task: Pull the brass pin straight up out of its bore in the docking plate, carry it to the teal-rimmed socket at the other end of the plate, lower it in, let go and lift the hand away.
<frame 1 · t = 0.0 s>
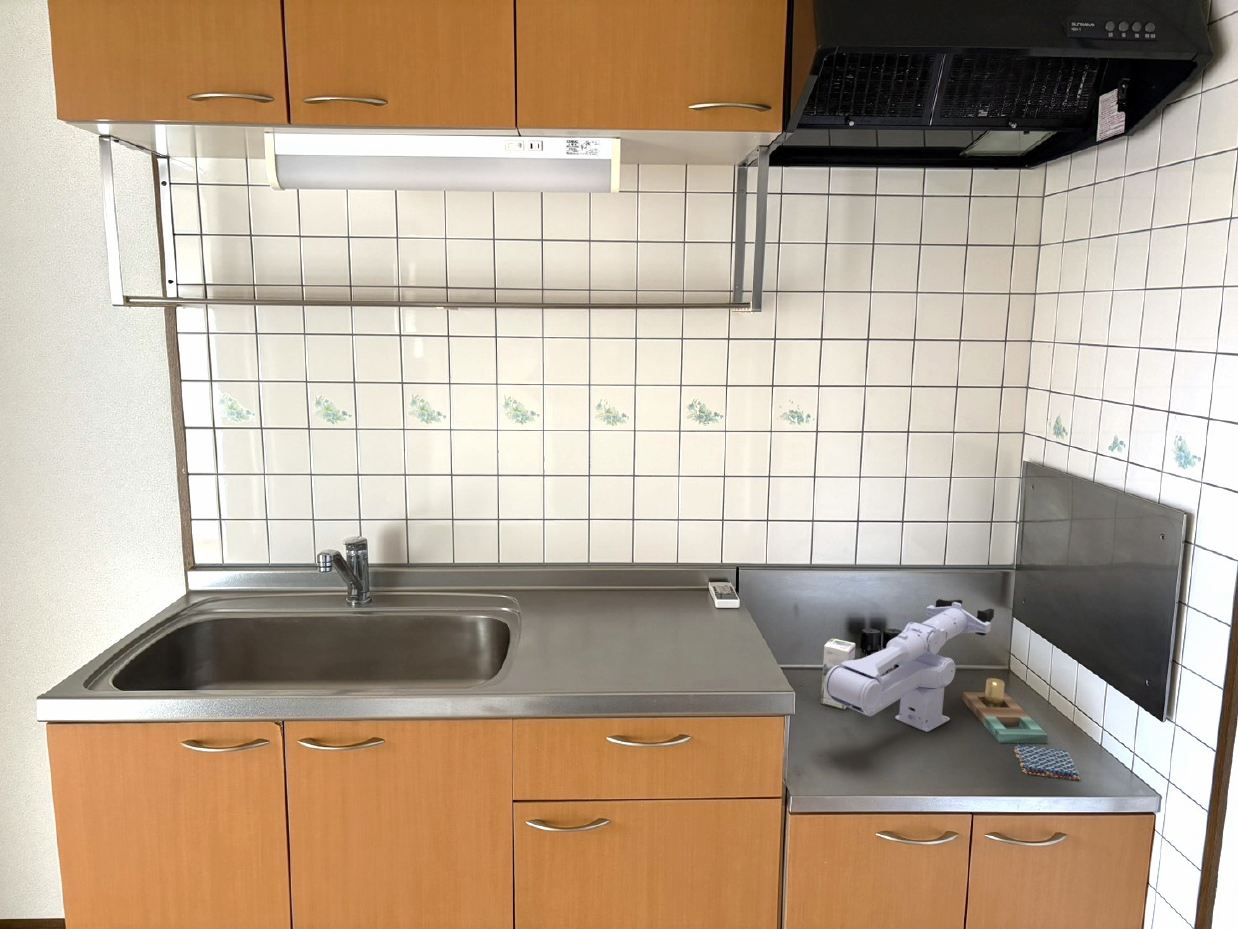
hand: (976, 608, 197), 22 cm above the table, tool horizontal, fingers open, 7 cm apart
syrup box: (836, 703, 196), on the table
woven mat: (1045, 767, 171), on the table
brass pin: (992, 710, 194), resting in docking plate
docking plate: (1002, 720, 189), on the table
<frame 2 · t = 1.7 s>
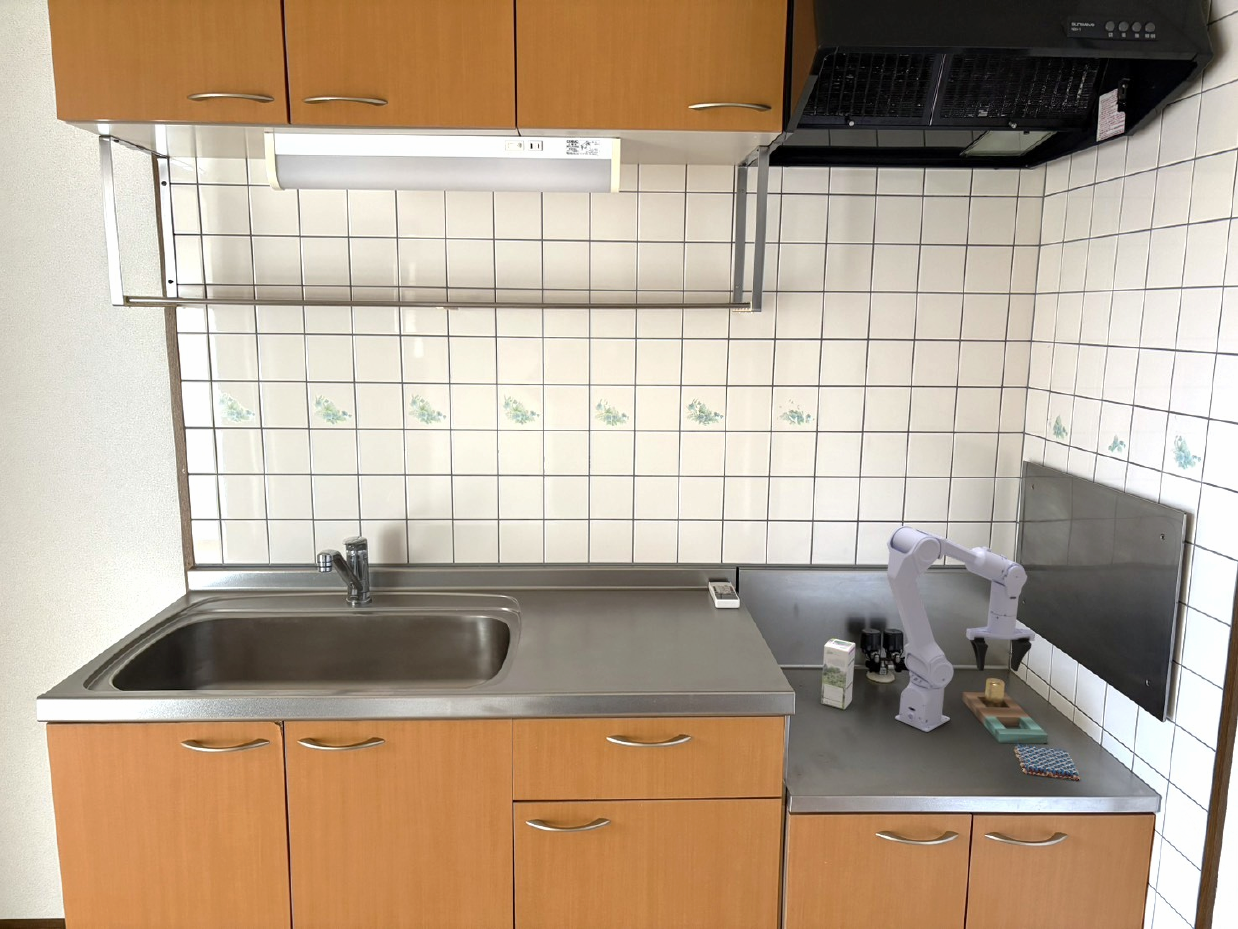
hand: (997, 669, 192), 10 cm above the table, tool pointing down, fingers open, 7 cm apart
nothing on the table moved.
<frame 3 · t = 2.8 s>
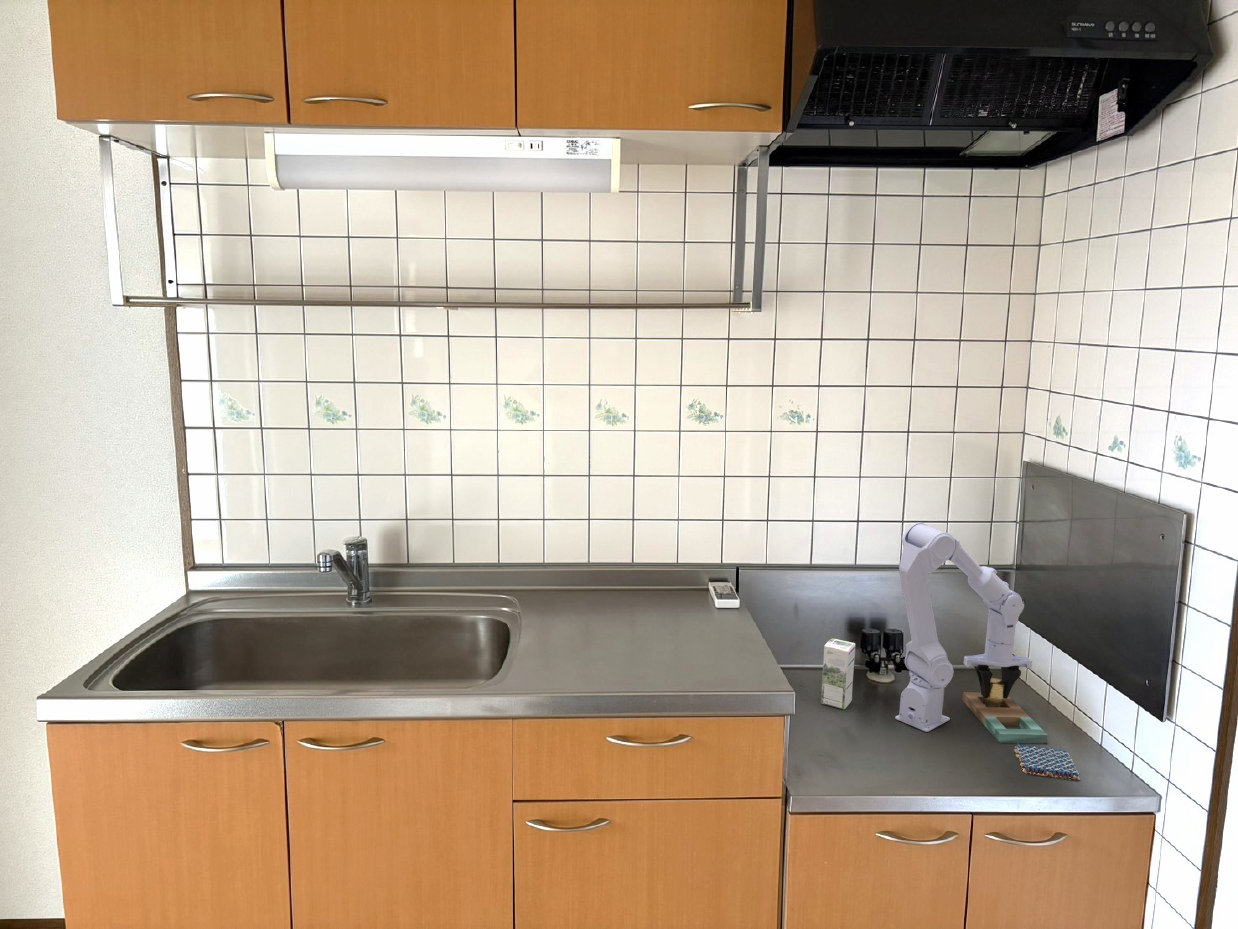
hand: (994, 696, 193), 3 cm above the table, tool pointing down, fingers closed on brass pin, 4 cm apart
brass pin: (992, 710, 194), resting in docking plate, touching gripper
everything else where it was.
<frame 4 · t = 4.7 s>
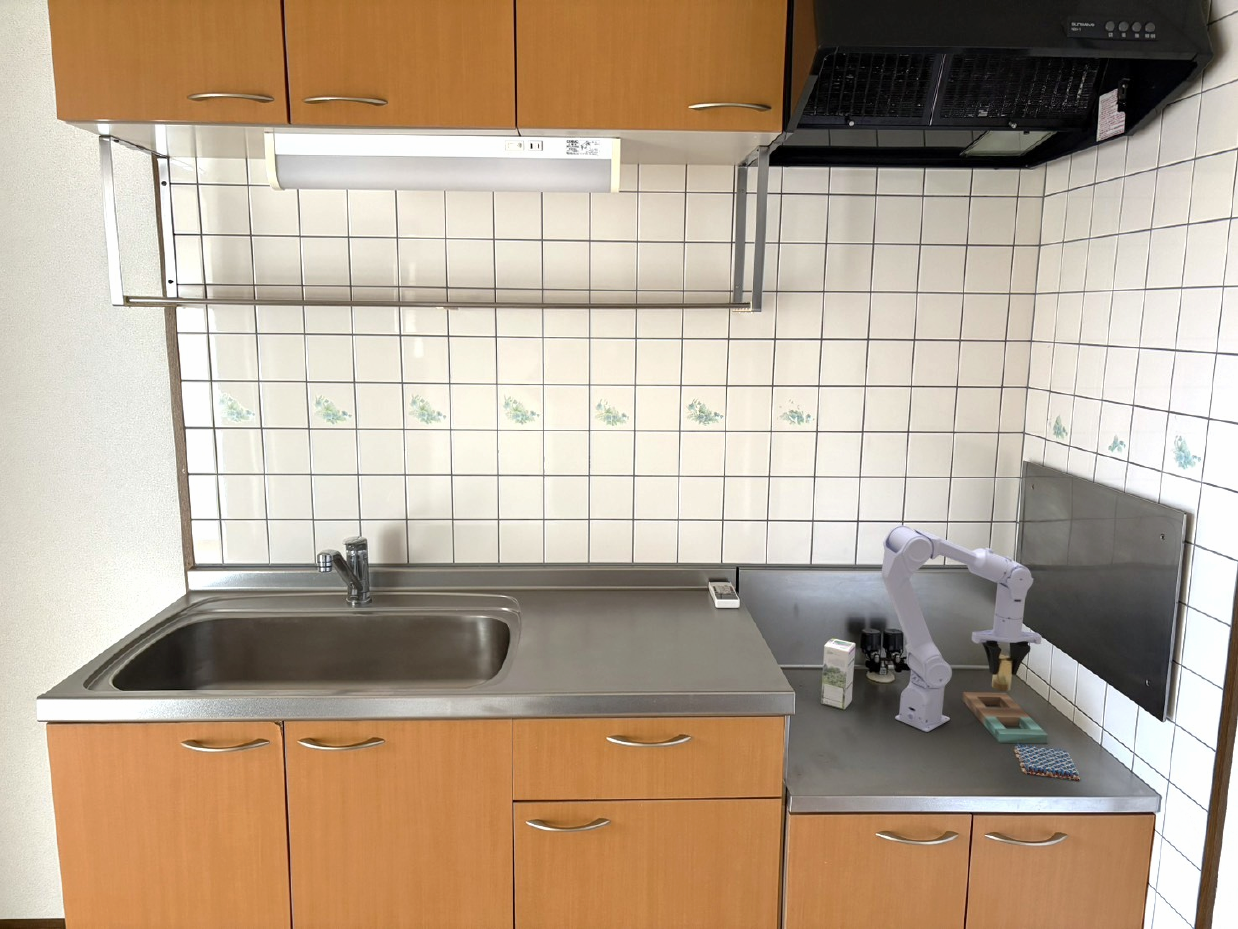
hand: (1002, 673, 189), 10 cm above the table, tool pointing down, fingers closed on brass pin, 4 cm apart
brass pin: (1000, 687, 190), point 7 cm above the table, touching gripper
everything else where it was.
when the fingers open (5 cm above the table, at t = 6.8 s): brass pin drops 1 cm, resting in docking plate.
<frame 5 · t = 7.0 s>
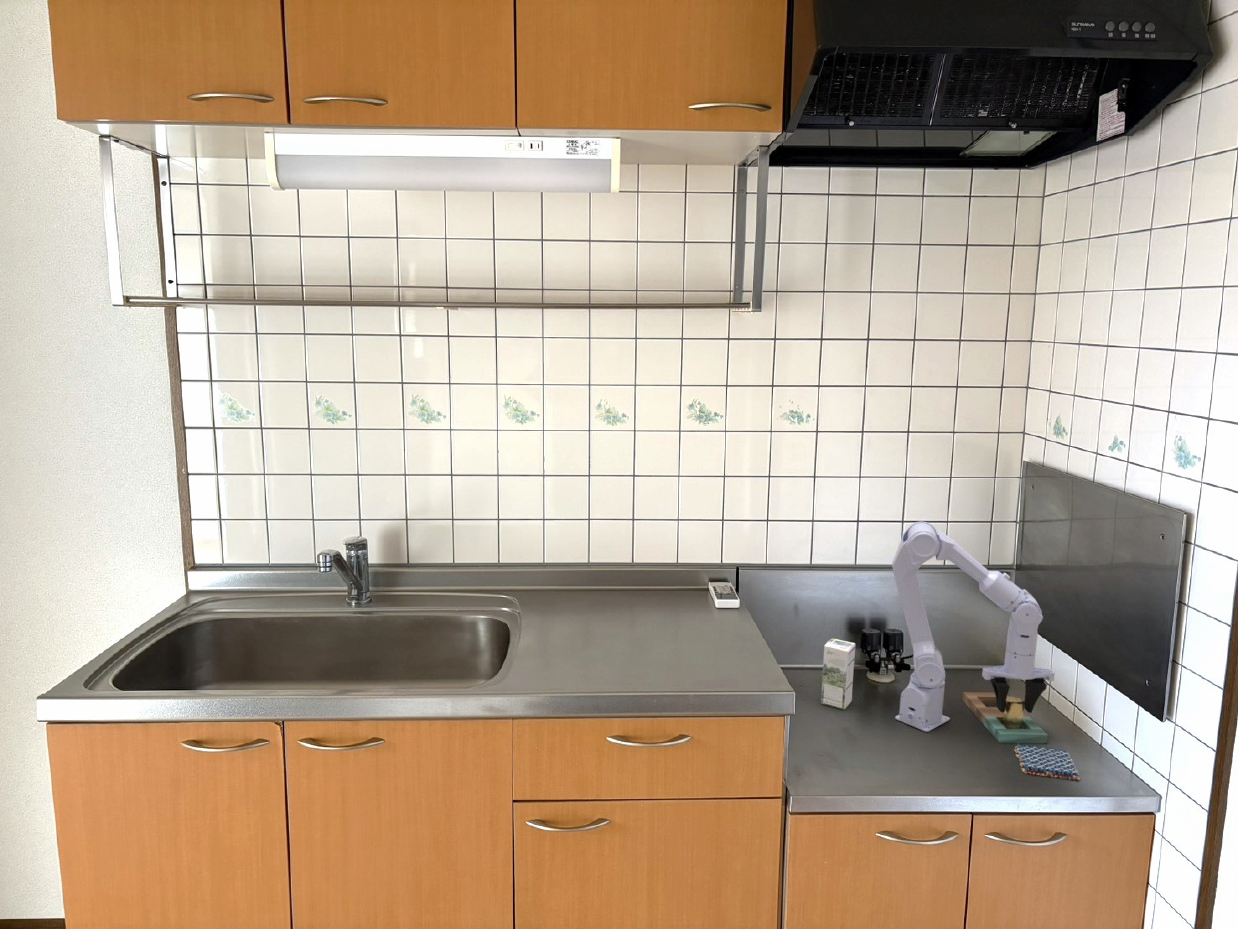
hand: (1014, 710, 183), 5 cm above the table, tool pointing down, fingers open, 5 cm apart
brass pin: (1011, 730, 184), resting in docking plate
everything else where it was.
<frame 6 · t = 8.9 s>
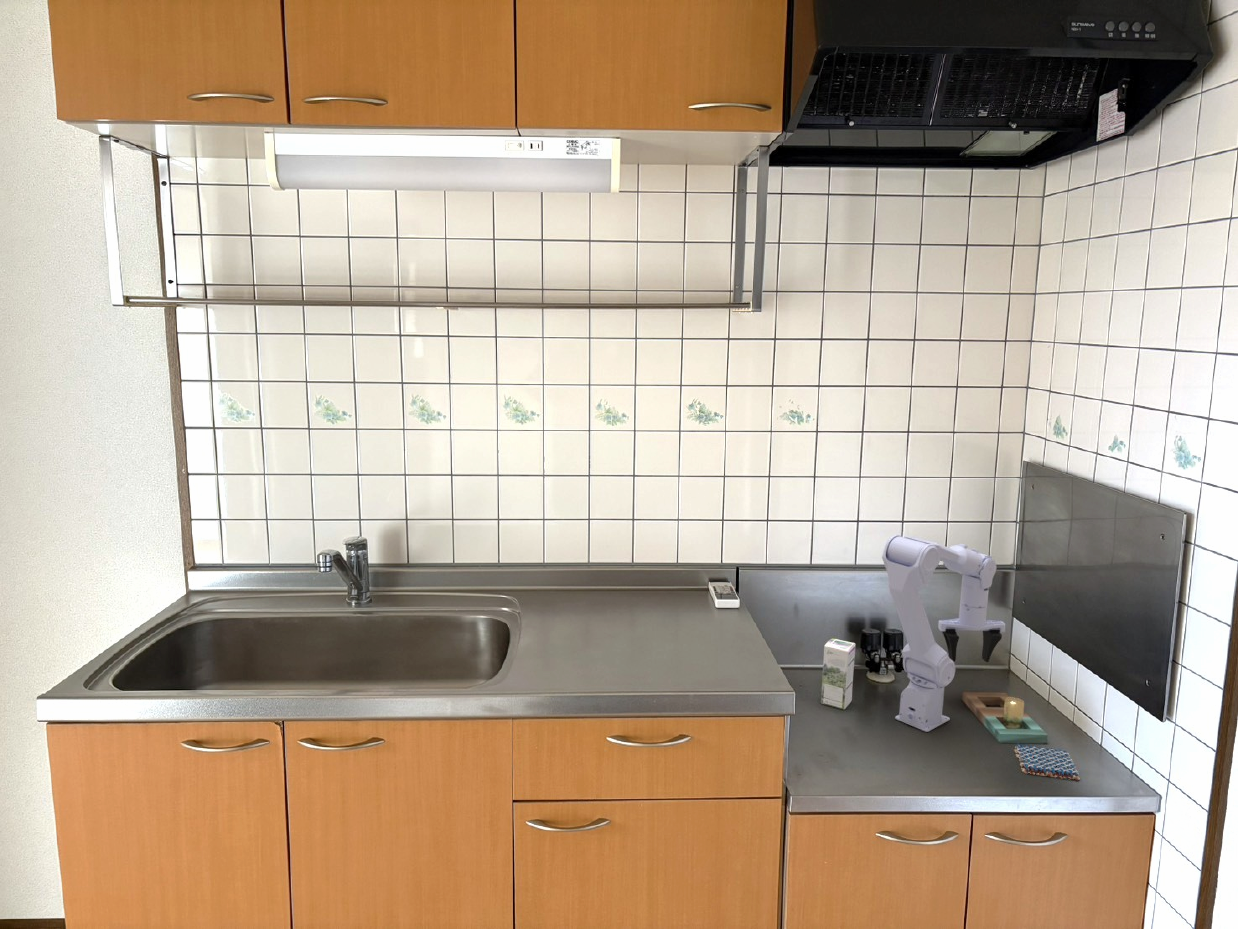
hand: (968, 660, 196), 10 cm above the table, tool pointing down, fingers open, 7 cm apart
nothing on the table moved.
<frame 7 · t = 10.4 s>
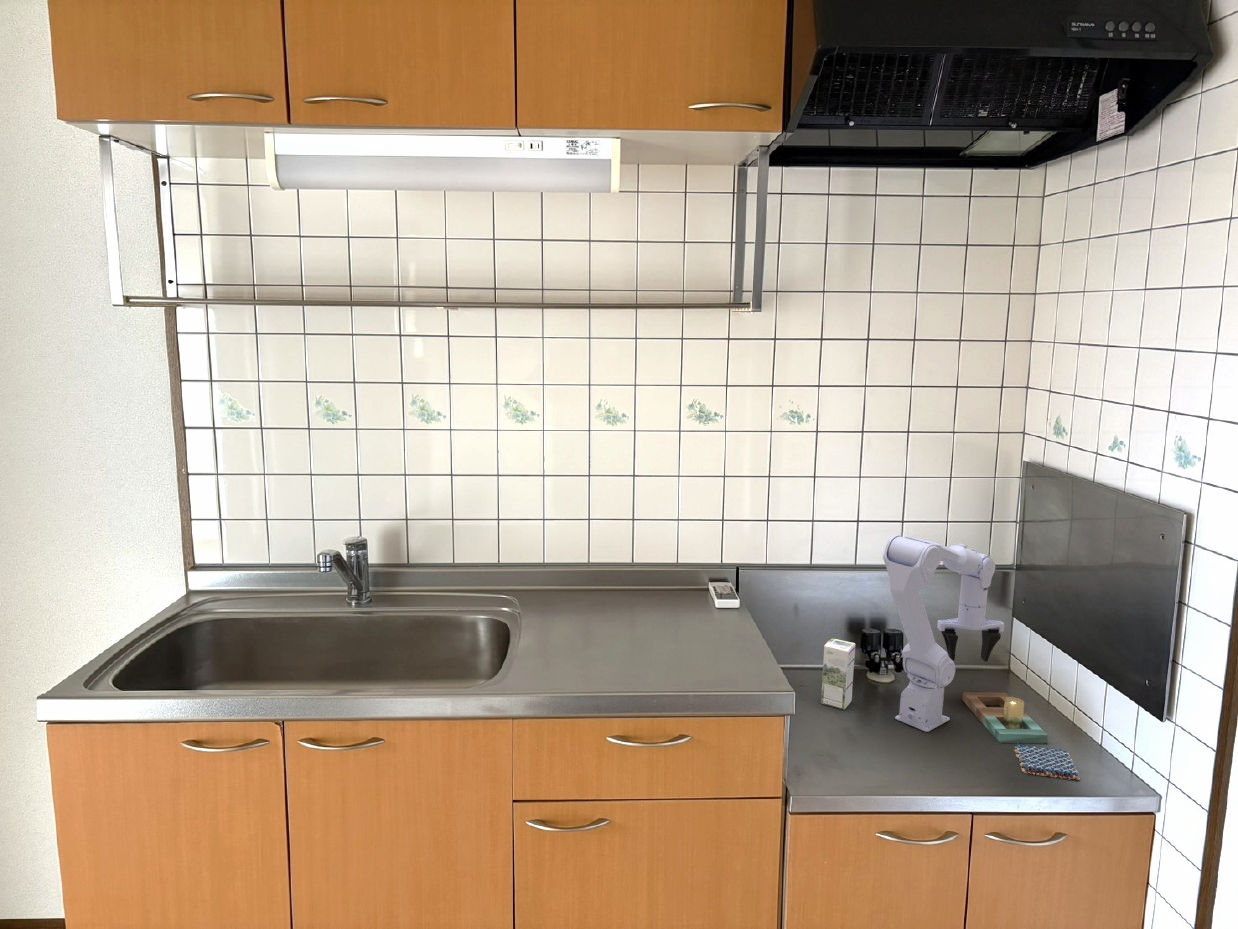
hand: (967, 659, 196), 10 cm above the table, tool pointing down, fingers open, 7 cm apart
nothing on the table moved.
at the end: brass pin 0.3 cm from the target spot, resting in docking plate; brass pin tilted 0°; the gripper is holding nothing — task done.
